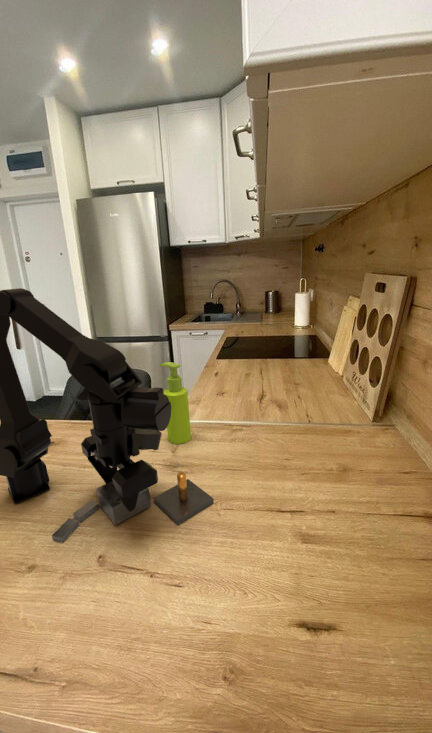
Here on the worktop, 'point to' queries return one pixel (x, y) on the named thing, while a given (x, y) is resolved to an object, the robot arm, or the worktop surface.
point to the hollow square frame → (120, 503)
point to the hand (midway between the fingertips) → (122, 499)
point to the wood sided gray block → (65, 530)
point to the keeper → (183, 500)
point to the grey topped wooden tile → (86, 511)
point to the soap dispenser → (177, 407)
